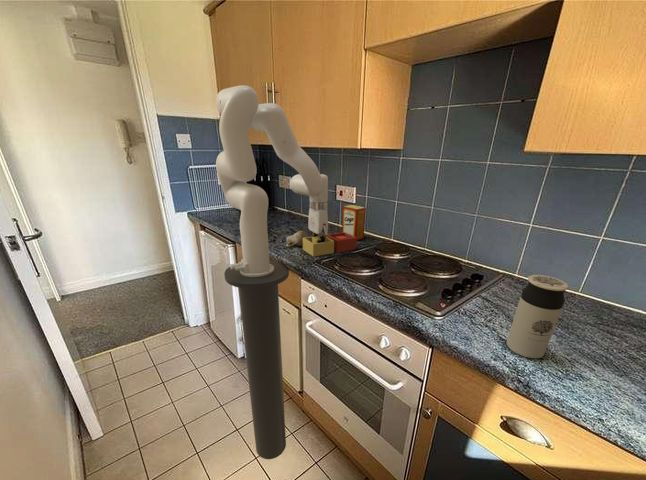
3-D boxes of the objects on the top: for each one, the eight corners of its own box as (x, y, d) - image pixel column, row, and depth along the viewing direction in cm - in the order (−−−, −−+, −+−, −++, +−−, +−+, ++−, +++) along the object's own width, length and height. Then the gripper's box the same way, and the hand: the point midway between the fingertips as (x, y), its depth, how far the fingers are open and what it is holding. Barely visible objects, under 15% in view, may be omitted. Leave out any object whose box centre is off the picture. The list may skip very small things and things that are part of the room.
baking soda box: (341, 236, 156) (342, 205, 149) (350, 234, 160) (351, 204, 153) (355, 240, 150) (357, 208, 143) (363, 238, 154) (365, 207, 147)
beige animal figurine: (288, 241, 145) (299, 224, 142) (303, 253, 143) (314, 236, 140) (280, 242, 139) (291, 224, 135) (296, 254, 136) (307, 236, 133)
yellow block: (316, 249, 130) (316, 239, 128) (311, 246, 134) (311, 237, 132) (325, 248, 132) (325, 238, 131) (320, 245, 136) (320, 235, 134)
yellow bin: (313, 256, 127) (313, 244, 125) (302, 249, 135) (302, 237, 133) (333, 253, 132) (334, 241, 130) (322, 246, 140) (322, 235, 138)
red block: (339, 248, 136) (339, 239, 135) (334, 245, 140) (334, 236, 138) (347, 247, 138) (348, 238, 137) (342, 244, 142) (342, 235, 140)
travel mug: (504, 335, 78) (524, 271, 70) (540, 343, 75) (564, 278, 68) (507, 353, 71) (530, 285, 64) (547, 363, 68) (575, 292, 61)
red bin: (337, 252, 133) (337, 240, 131) (326, 245, 141) (326, 234, 139) (356, 249, 138) (357, 237, 136) (344, 243, 146) (344, 232, 144)
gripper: (301, 202, 130) (302, 242, 138) (320, 210, 117) (320, 254, 125) (317, 201, 134) (317, 240, 141) (336, 208, 121) (335, 251, 128)
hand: (318, 246), depth 133 cm, fingers closed on yellow block, 4 cm apart
